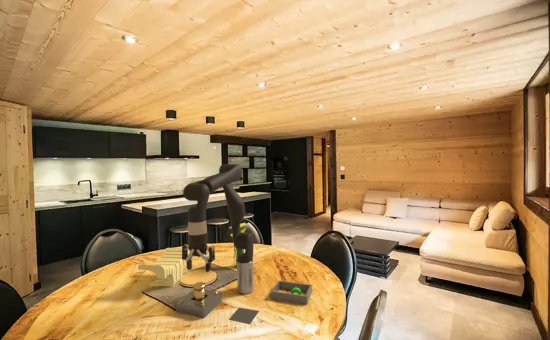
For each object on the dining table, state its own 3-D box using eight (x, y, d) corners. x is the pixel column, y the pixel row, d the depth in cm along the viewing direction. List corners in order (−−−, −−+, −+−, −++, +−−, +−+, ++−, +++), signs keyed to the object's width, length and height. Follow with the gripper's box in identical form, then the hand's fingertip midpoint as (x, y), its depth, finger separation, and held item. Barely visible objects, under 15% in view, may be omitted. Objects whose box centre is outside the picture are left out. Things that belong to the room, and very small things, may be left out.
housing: (196, 298, 144) (195, 287, 144) (221, 302, 139) (221, 291, 139) (176, 313, 129) (176, 301, 129) (204, 319, 124) (204, 306, 123)
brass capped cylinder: (198, 302, 137) (197, 281, 137) (208, 303, 136) (207, 282, 135) (191, 308, 132) (190, 286, 132) (201, 310, 130) (200, 288, 130)
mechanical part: (290, 307, 137) (289, 292, 137) (291, 301, 143) (291, 287, 143) (313, 309, 135) (312, 294, 135) (313, 303, 141) (313, 288, 141)
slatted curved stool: (165, 297, 146) (164, 265, 145) (139, 295, 148) (138, 264, 147) (189, 274, 175) (188, 248, 175) (167, 273, 177) (166, 247, 177)
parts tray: (278, 287, 155) (278, 280, 155) (312, 291, 148) (311, 284, 148) (270, 298, 142) (270, 291, 141) (307, 304, 135) (307, 296, 135)
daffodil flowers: (250, 271, 179) (249, 220, 178) (228, 272, 177) (227, 221, 177) (250, 262, 195) (249, 216, 195) (230, 263, 194) (229, 216, 194)
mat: (239, 308, 133) (238, 307, 133) (259, 311, 129) (259, 310, 129) (228, 320, 122) (228, 319, 122) (249, 324, 119) (249, 323, 119)
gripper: (217, 230, 110) (218, 268, 110) (188, 228, 114) (189, 265, 114) (208, 235, 102) (209, 275, 103) (177, 233, 106) (178, 272, 107)
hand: (198, 270), depth 108 cm, fingers open, 8 cm apart
